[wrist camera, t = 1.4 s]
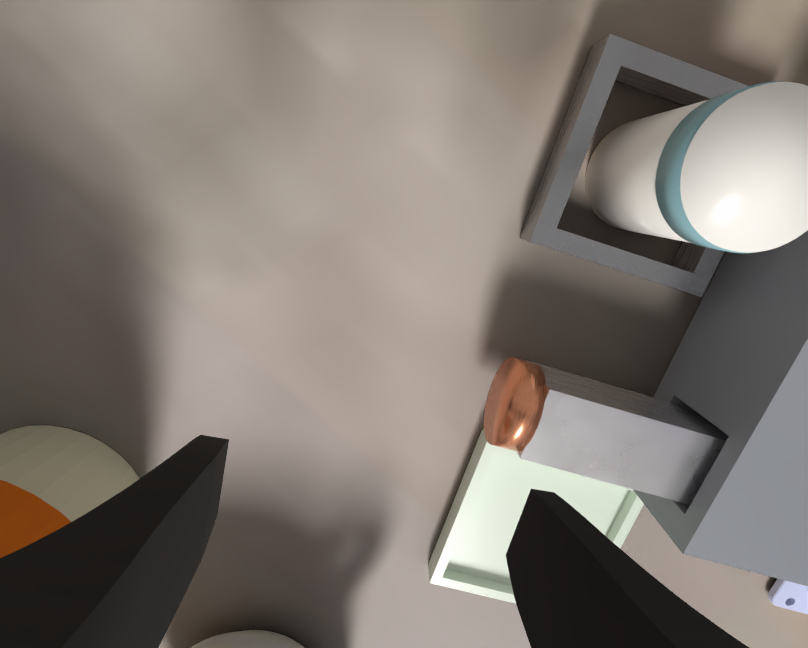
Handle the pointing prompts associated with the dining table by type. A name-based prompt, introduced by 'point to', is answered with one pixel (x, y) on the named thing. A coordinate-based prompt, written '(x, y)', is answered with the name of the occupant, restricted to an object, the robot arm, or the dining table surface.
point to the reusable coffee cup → (53, 481)
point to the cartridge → (710, 171)
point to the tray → (514, 516)
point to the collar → (586, 107)
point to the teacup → (249, 640)
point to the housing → (747, 415)
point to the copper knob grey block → (600, 430)
